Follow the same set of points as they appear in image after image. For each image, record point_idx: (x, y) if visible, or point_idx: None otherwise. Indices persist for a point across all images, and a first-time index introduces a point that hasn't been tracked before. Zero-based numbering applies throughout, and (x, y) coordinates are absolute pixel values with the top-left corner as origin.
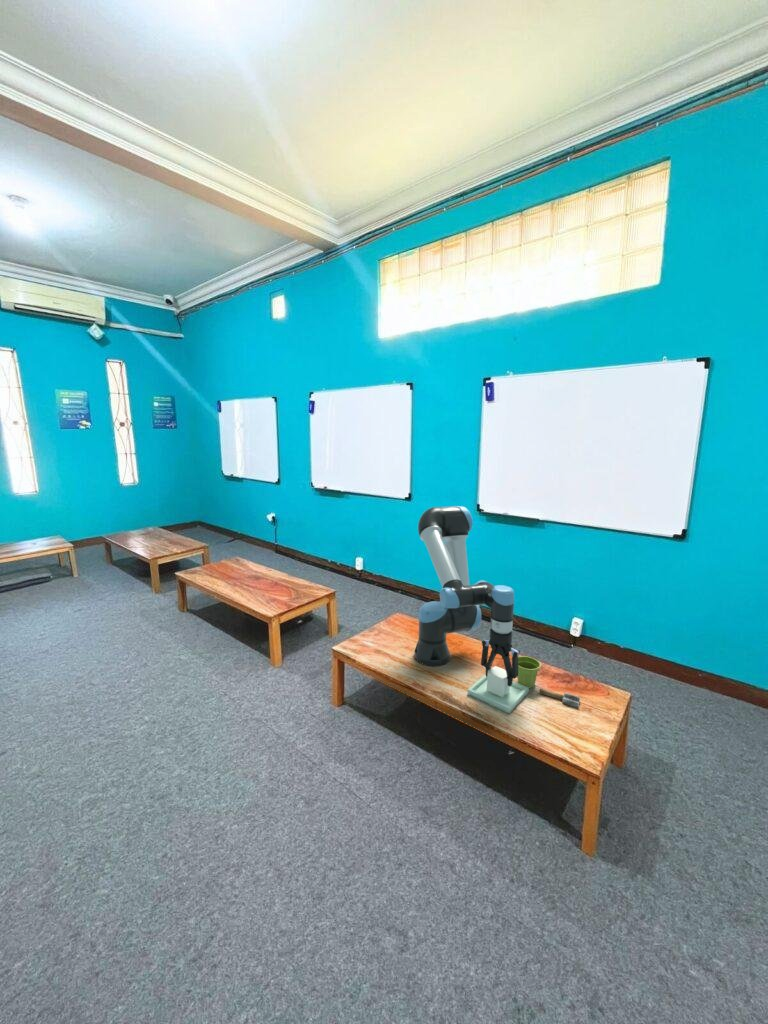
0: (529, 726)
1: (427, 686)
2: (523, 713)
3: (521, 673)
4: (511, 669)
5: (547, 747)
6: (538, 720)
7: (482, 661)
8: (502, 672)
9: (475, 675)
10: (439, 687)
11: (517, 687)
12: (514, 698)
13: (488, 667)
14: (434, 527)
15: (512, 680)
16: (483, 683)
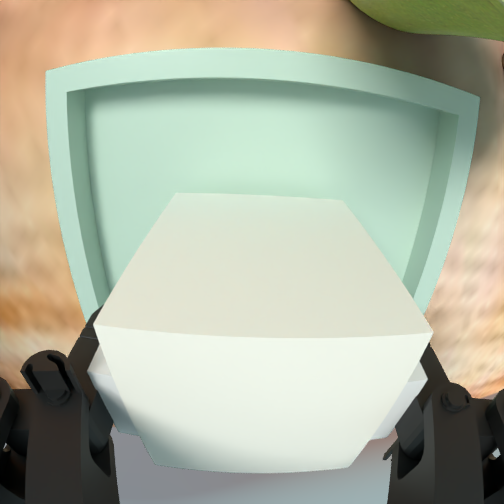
0: (456, 369)
1: (4, 373)
2: (441, 323)
3: (468, 22)
4: (468, 480)
5: (487, 394)
6: (494, 319)
7: (20, 477)
8: (308, 414)
9: (11, 147)
10: (21, 363)
11: (383, 96)
12: (392, 254)
13: (110, 462)
14: None
15: (433, 354)
16: (104, 224)
